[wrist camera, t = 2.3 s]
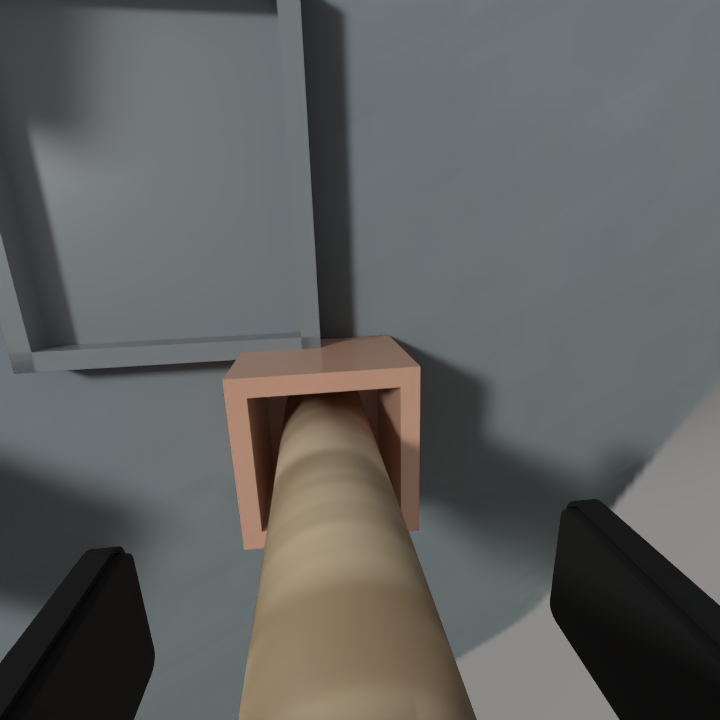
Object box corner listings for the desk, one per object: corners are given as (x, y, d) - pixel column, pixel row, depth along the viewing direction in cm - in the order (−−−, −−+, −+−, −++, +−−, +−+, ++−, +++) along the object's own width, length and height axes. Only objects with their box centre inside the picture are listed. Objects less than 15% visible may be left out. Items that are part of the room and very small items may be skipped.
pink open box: (390, 459, 20) (419, 529, 15) (261, 470, 20) (244, 550, 14) (388, 335, 19) (420, 366, 13) (247, 343, 18) (222, 379, 13)
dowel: (362, 440, 19) (522, 985, 5) (288, 447, 19) (224, 1063, 4) (360, 370, 18) (549, 791, 4) (282, 375, 18) (176, 867, 4)
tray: (320, 345, 18) (321, 354, 17) (43, 361, 17) (14, 373, 15) (298, -17, 15) (297, -53, 13) (-56, -33, 13) (-110, -76, 12)
